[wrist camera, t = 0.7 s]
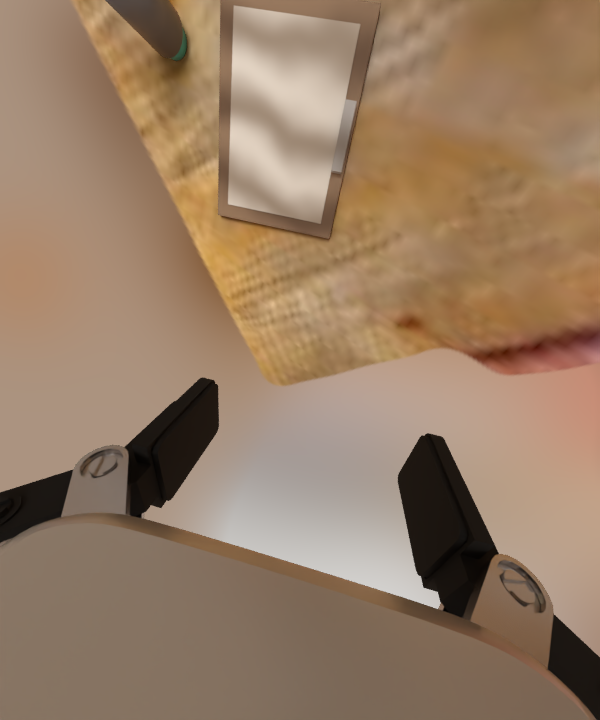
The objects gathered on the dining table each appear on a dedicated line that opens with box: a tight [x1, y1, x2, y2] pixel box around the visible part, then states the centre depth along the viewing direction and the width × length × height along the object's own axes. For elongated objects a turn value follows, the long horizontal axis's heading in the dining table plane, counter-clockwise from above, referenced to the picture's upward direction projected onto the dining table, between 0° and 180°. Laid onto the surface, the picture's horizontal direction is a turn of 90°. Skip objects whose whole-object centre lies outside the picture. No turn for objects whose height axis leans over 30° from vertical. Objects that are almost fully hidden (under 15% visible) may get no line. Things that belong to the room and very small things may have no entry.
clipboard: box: [218, 0, 381, 239], centre depth 27 cm, size 20×16×2 cm
